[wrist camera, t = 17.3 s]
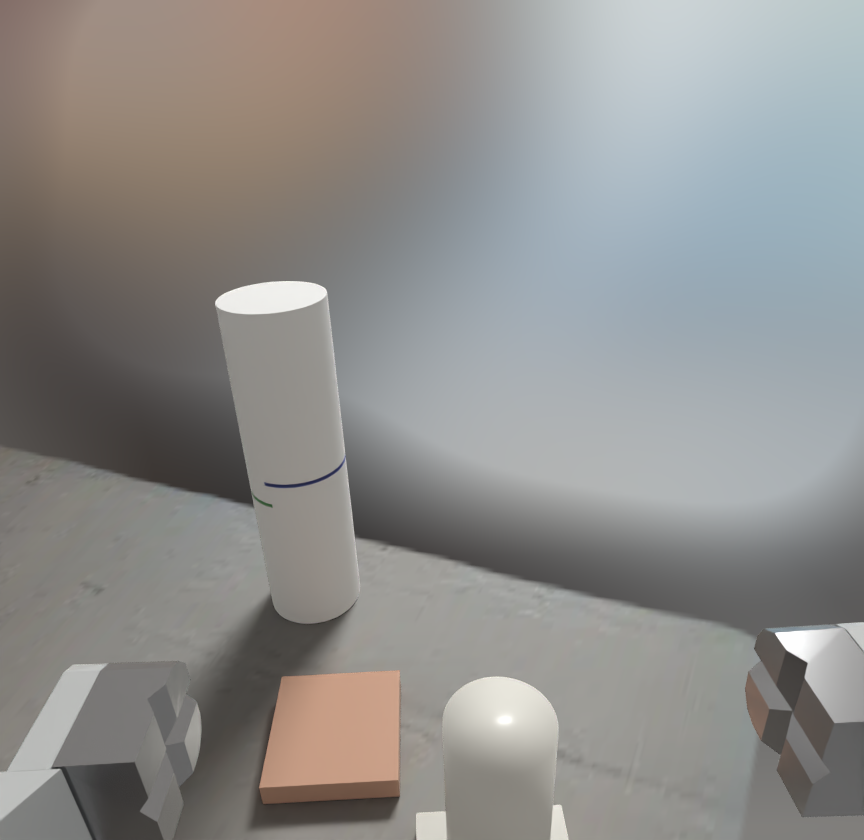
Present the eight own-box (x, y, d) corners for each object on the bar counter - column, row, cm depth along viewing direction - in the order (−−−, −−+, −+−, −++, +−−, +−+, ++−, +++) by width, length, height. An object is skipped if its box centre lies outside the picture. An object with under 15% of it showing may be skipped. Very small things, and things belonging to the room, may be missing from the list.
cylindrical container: (342, 629, 52) (300, 316, 40) (257, 616, 53) (193, 311, 42) (371, 569, 58) (342, 282, 46) (294, 559, 59) (247, 279, 48)
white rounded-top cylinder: (449, 948, 31) (442, 782, 26) (444, 839, 36) (437, 677, 30) (557, 942, 31) (573, 774, 26) (538, 834, 36) (548, 671, 30)
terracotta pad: (263, 804, 39) (259, 787, 39) (284, 692, 46) (281, 676, 46) (399, 796, 40) (398, 780, 39) (400, 686, 47) (399, 670, 46)
